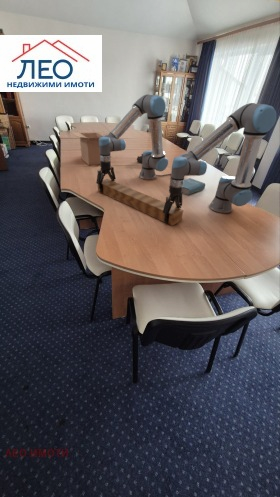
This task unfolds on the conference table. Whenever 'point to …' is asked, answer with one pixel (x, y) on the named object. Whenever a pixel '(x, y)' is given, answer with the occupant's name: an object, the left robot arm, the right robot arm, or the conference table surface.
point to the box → (90, 146)
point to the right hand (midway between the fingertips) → (171, 219)
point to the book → (192, 186)
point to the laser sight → (139, 158)
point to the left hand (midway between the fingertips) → (106, 190)
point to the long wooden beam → (140, 201)
